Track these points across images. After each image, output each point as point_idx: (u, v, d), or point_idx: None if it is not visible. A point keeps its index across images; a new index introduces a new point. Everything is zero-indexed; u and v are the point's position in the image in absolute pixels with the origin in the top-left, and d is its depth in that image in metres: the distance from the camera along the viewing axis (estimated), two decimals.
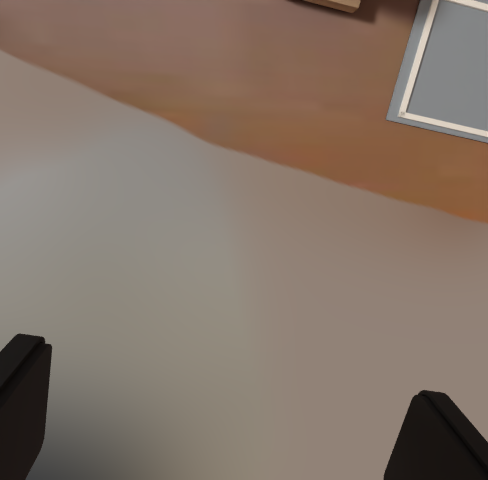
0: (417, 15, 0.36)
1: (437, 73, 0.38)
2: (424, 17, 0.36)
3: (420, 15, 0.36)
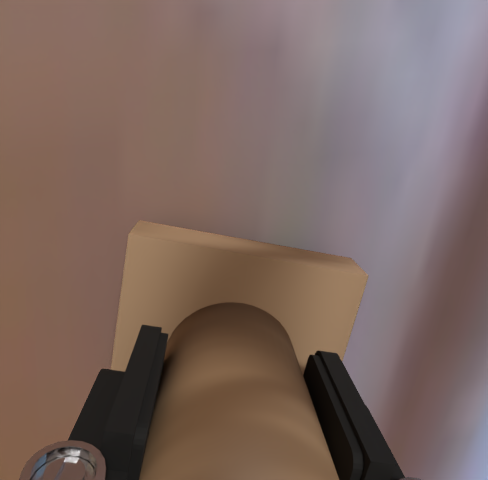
0: None
1: None
2: None
3: None
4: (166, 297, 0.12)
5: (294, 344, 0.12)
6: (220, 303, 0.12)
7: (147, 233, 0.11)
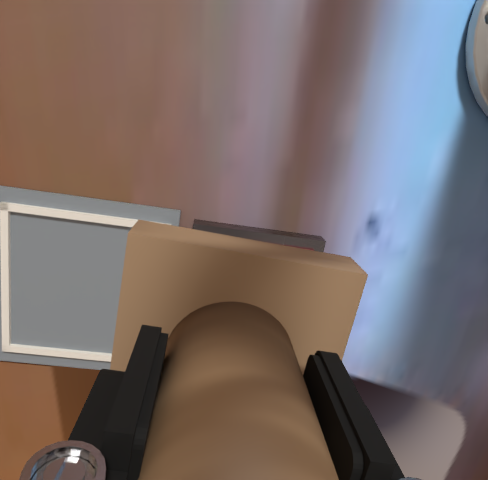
0: (139, 206, 0.27)
1: (72, 248, 0.27)
2: (138, 216, 0.27)
3: (140, 210, 0.27)
4: (165, 296, 0.12)
5: (293, 343, 0.12)
6: (219, 302, 0.12)
7: (146, 232, 0.11)
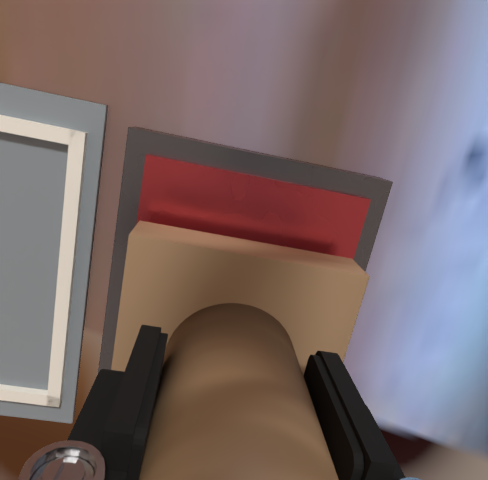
0: (21, 90, 0.13)
1: None
2: (19, 111, 0.13)
3: (23, 99, 0.13)
4: (166, 298, 0.12)
5: (295, 345, 0.12)
6: (220, 304, 0.12)
7: (147, 233, 0.11)
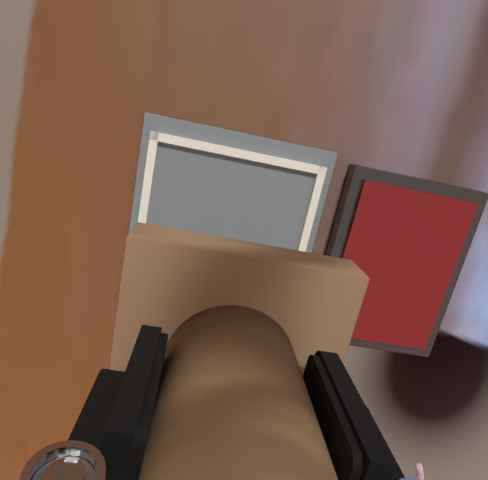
0: (295, 145, 0.25)
1: (217, 187, 0.25)
2: (293, 156, 0.25)
3: (295, 150, 0.25)
4: (165, 300, 0.11)
5: (294, 347, 0.12)
6: (220, 306, 0.12)
7: (145, 235, 0.11)
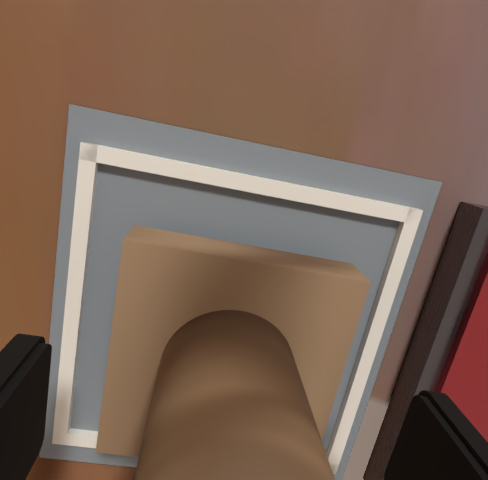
0: (364, 168, 0.13)
1: None
2: (358, 189, 0.13)
3: (364, 177, 0.13)
4: (162, 304, 0.11)
5: (294, 352, 0.12)
6: (218, 311, 0.11)
7: (142, 238, 0.11)
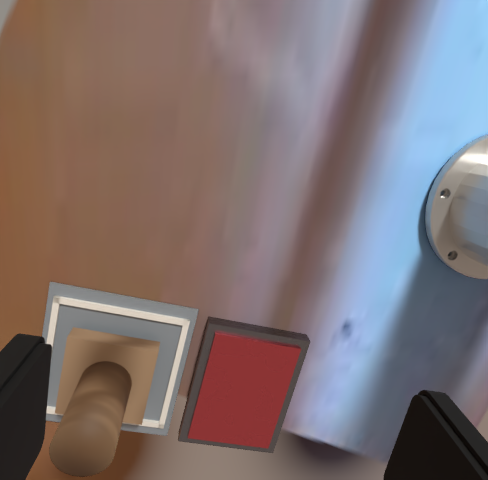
0: (166, 305, 0.33)
1: None
2: (164, 312, 0.34)
3: (166, 308, 0.33)
4: (81, 359, 0.31)
5: (131, 377, 0.32)
6: (101, 361, 0.31)
7: (74, 335, 0.31)
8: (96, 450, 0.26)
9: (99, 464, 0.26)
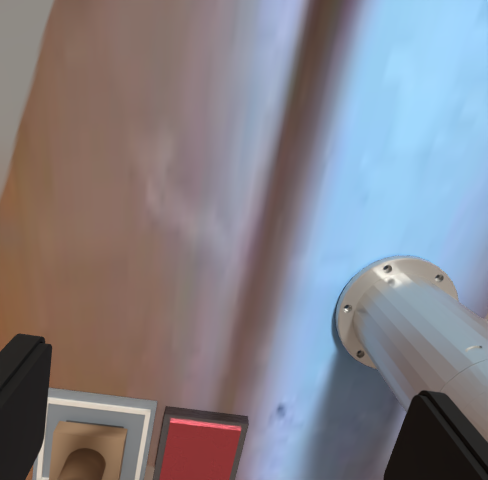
0: (131, 399, 0.42)
1: None
2: (130, 405, 0.42)
3: (131, 402, 0.42)
4: (65, 447, 0.41)
5: (105, 458, 0.41)
6: (81, 448, 0.41)
7: (59, 430, 0.40)
8: None
9: None
